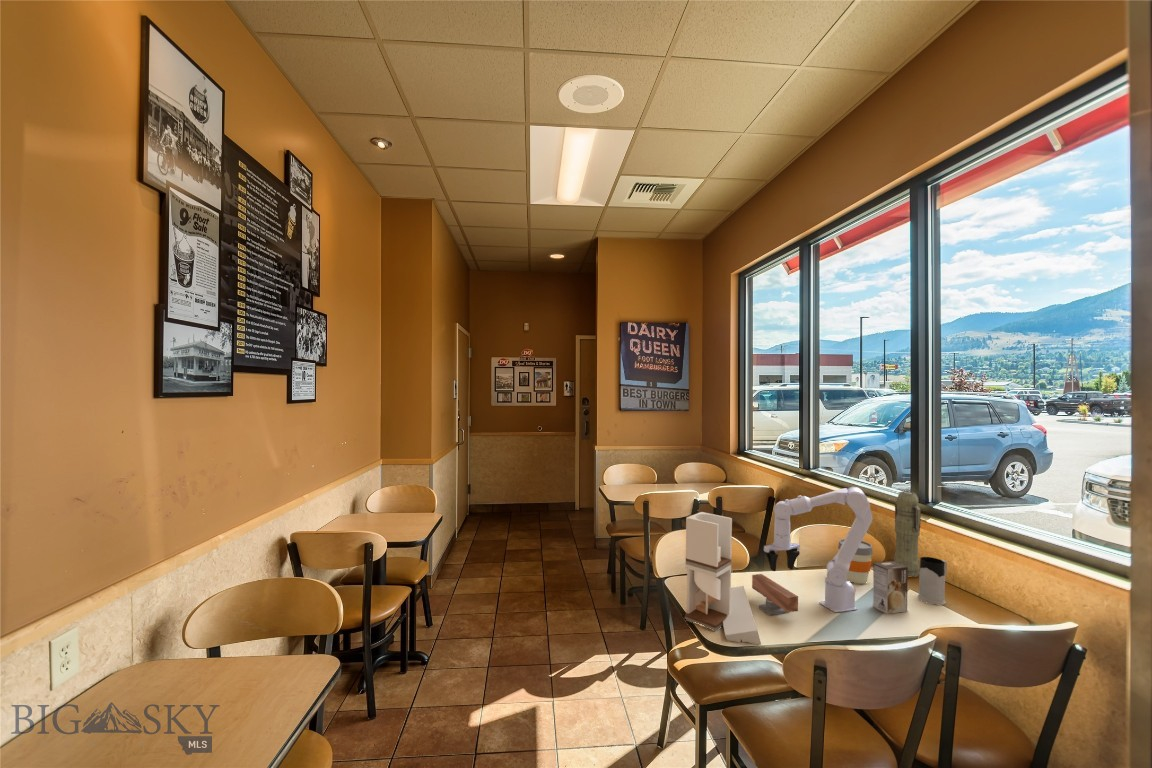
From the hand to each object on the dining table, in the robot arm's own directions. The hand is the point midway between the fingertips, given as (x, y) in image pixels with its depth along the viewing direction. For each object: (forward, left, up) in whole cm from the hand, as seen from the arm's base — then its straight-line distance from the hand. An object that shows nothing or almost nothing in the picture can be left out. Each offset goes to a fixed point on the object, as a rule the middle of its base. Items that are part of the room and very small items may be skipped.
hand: (781, 569), depth 188 cm
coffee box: (-32, +18, -11) cm, 38 cm away
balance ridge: (+10, +9, -10) cm, 17 cm away
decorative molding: (+26, +10, -11) cm, 30 cm away
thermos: (-68, -7, -11) cm, 69 cm away
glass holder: (-57, +15, -11) cm, 60 cm away
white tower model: (+37, +10, -11) cm, 40 cm away
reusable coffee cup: (-41, -7, -11) cm, 43 cm away
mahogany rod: (+10, +9, -6) cm, 15 cm away
